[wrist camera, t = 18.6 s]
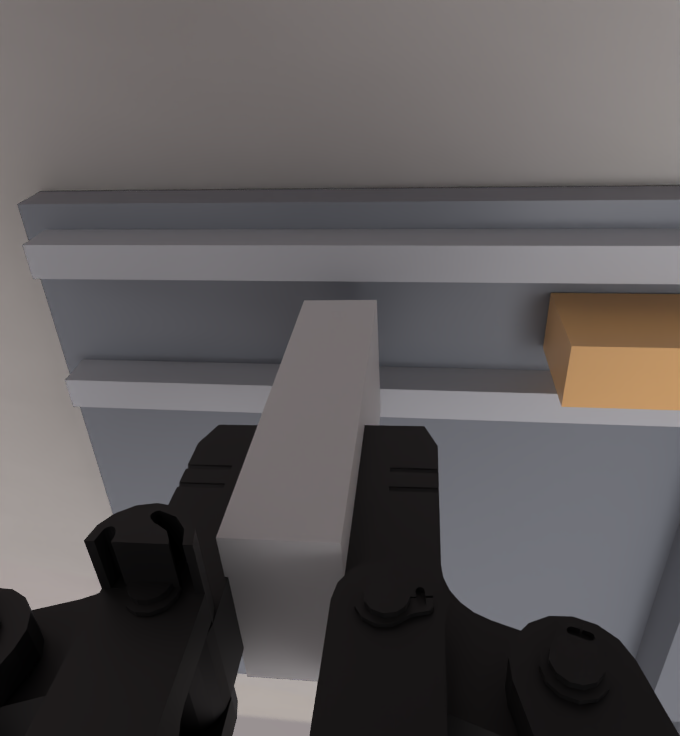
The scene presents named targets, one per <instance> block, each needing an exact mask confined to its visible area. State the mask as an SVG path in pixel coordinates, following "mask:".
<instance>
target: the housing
mask: <svg viewBox="0 0 680 736" xmlns="http://www.w3.org/2000/svg"><path fill="white" fill-rule="evenodd" d="M18 208H19V211H20V214H21V217H22V221H23V224H24V227H25V230H26V234H27V237H28V240H29V241H28V242H26V243H25V244H23V245H22V246H23V249H24V252H25V255H26V258H27V261H28V265H29V268H30V271H31V274H32V277H33V279H41V282H42V285H43V289H44V292H45V295H46V298H47V302H48V305H49V308H50V311H51V315H52V318H53V321H54V324H55V328H56V331H57V334H58V337H59V340H60V344H61V347H62V350H63V353H64V357H65V360H66V363H67V366H68V370H69V373H70V375H69V376H68V377H67V378H66V379H65V382H66V385H67V388H68V391H69V395H70V398H71V401H72V404H73V407H80V409H81V412H82V415H83V418H84V421H85V425H86V428H87V431H88V434H89V438H90V441H91V444H92V447H93V451H94V454H95V457H96V460H97V464H98V467H99V470H100V473H101V477H102V480H103V483H104V486H105V490H106V493H107V496H108V499H109V502H110V506H111V509H112V512H113V514H115V513H117V512H120V511H122V510H125V509H128V508H131V507H133V506H136V505H143V504H153V503H161V504H166V505H168V504H169V502H170V500H171V498H172V496H173V494H174V492H175V490H176V488H177V487H179V482H180V480H181V477H182V475H183V473H184V471H185V469H188V463H189V461H190V459H191V457H192V455H193V453H194V451H195V449H196V447H197V444H198V443H199V442H200V441H201V440H202V439H203V438H204V437H205V436H207V435H208V434H209V433H210V432H211V431H212V430H213V429H214V428H216V427H217V426H218V425H258V423H259V421H260V418H261V415H262V412H263V410H264V407H265V404H266V402H267V399H268V396H269V394H270V391H271V388H272V386H273V383H274V380H275V378H276V375H277V372H278V369H279V367H280V364H281V361H282V359H283V356H284V353H285V351H286V348H287V345H288V343H289V340H290V337H291V334H292V332H293V329H294V326H295V324H296V321H297V318H298V316H299V313H300V310H301V308H302V305H303V302H304V300H377V320H378V349H379V377H380V406H381V412H380V421H379V425H386V426H425V428H426V429H427V431H428V432H429V434H430V435H431V437H432V438H433V440H434V441H435V443H436V444H437V446H438V473H439V508H440V544H441V567H442V573H443V578H444V580H445V582H446V584H447V586H448V588H449V590H450V591H451V592H452V593H453V594H454V596H455V597H456V598H457V599H458V600H459V601H460V602H461V603H462V604H463V605H465V606H466V607H467V608H469V609H470V610H472V611H473V612H474V613H477V614H479V615H481V616H483V617H485V618H487V619H490V620H492V621H495V622H498V623H501V624H504V625H506V626H509V627H512V628H515V629H518V630H522V629H523V628H524V627H525V626H526V625H527V624H528V623H530V622H533V621H536V620H539V619H541V618H544V617H547V616H573V617H576V618H579V619H582V620H585V621H588V622H591V623H594V624H597V625H599V626H600V627H602V628H603V629H604V630H606V631H607V632H609V633H610V634H612V635H613V636H615V637H616V638H618V639H619V640H620V641H621V642H622V644H623V645H624V646H625V647H626V648H627V650H628V651H629V652H630V653H631V655H632V656H633V657H634V658H635V659H636V661H637V663H638V664H639V666H640V668H641V670H642V671H643V673H644V675H645V676H646V678H647V680H648V682H649V683H650V685H651V687H652V689H653V690H654V692H655V694H656V695H657V697H658V699H659V701H660V702H661V704H662V706H663V708H664V709H665V711H666V713H667V714H668V716H669V718H670V720H671V721H672V723H673V725H674V727H675V728H676V730H677V732H678V733H679V735H680V410H649V409H616V408H583V407H561V404H560V401H559V398H558V394H557V391H556V388H555V385H554V382H553V378H552V375H551V372H550V369H549V366H548V362H547V359H546V356H545V353H544V350H543V344H544V337H545V330H546V323H547V316H548V309H549V302H550V295H551V293H621V294H680V186H589V187H479V188H370V189H261V190H151V191H42V192H38V193H36V194H35V195H33V196H31V197H29V198H27V199H26V200H24V201H22V202H20V203H19V204H18ZM237 673H240V674H247V673H246V669H245V664H244V660H243V656H242V657H241V661H240V665H239V669H238V672H237Z"/></svg>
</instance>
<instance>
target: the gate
mask: <svg viewBox="0 0 680 736" xmlns="http://www.w3.org/2000/svg"><path fill="white" fill-rule="evenodd" d="M543 350H544V353H545V356H546V359H547V362H548V366H549V369H550V372H551V375H552V378H553V382H554V385H555V388H556V391H557V394H558V398H559V401H560V404H561V407H583V408H616V409H649V410H680V294H621V293H551V295H550V302H549V309H548V316H547V323H546V330H545V337H544V344H543Z"/></svg>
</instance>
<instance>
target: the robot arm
mask: <svg viewBox="0 0 680 736" xmlns="http://www.w3.org/2000/svg"><path fill="white" fill-rule="evenodd" d="M380 412H381V406H380V377H379V349H378V320H377V300H304V302H303V305H302V308H301V310H300V313H299V316H298V318H297V321H296V324H295V326H294V329H293V332H292V334H291V337H290V340H289V343H288V345H287V348H286V351H285V353H284V356H283V359H282V361H281V364H280V367H279V369H278V372H277V375H276V378H275V380H274V383H273V386H272V388H271V391H270V394H269V396H268V399H267V402H266V404H265V407H264V410H263V412H262V415H261V418H260V421H259V423H258V425H218V426H217V427H216V428H214V429H213V430H212V431H211V432H210V433H209V434H208V435H207V436H205V437H204V438H203V439H202V440H201V441H200V442H199V443H198V444H197V447H196V449H195V451H194V453H193V455H192V457H191V459H190V461H189V463H188V469H185V471H184V473H183V475H182V477H181V480H180V482H179V487H177V488H176V490H175V492H174V494H173V496H172V498H171V500H170V502H169V504H168V505H166V504H161V503H153V504H143V505H136V506H133V507H131V508H128V509H125V510H122V511H120V512H117V513H115V514H113V515H112V516H110V517H109V518H107V519H106V520H104V521H103V522H101V523H100V524H98V525H97V526H96V527H95V528H94V530H93V531H92V532H91V533H90V534H89V535H88V537H87V538H86V539H85V540H84V542H85V545H86V547H87V550H88V553H89V555H90V558H91V561H92V563H93V566H94V569H95V571H96V574H97V577H98V579H99V582H100V585H101V587H102V589H101V591H100V593H98V594H96V595H93V596H90V597H86V598H83V599H80V600H76V601H71V602H67V603H62V604H58V605H53V606H49V607H44V608H40V609H36V610H31V608H30V606H29V604H28V602H27V600H26V598H25V597H24V596H22V595H21V594H19V593H18V592H16V591H14V590H13V589H3V588H0V736H232V735H233V731H234V727H235V723H236V719H237V703H238V700H237V696H236V692H235V688H234V683H235V680H236V676H237V672H238V669H239V665H240V661H241V657H242V656H243V660H244V664H245V669H246V673H247V677H262V678H276V679H290V680H305V681H318V684H317V691H316V697H315V704H314V710H313V717H312V723H311V730H310V736H680V735H679V733H678V732H677V730H676V728H675V727H674V725H673V723H672V721H671V720H670V718H669V716H668V714H667V713H666V711H665V709H664V708H663V706H662V704H661V702H660V701H659V699H658V697H657V695H656V694H655V692H654V690H653V689H652V687H651V685H650V683H649V682H648V680H647V678H646V676H645V675H644V673H643V671H642V670H641V668H640V666H639V664H638V663H637V661H636V659H635V658H634V657H633V656H632V655H631V653H630V652H629V651H628V650H627V648H626V647H625V646H624V645H623V644H622V642H621V641H620V640H619V639H618V638H616V637H615V636H613V635H612V634H610V633H609V632H607V631H606V630H604V629H603V628H602V627H600V626H599V625H597V624H594V623H591V622H588V621H585V620H582V619H579V618H576V617H573V616H547V617H544V618H541V619H539V620H536V621H533V622H530V623H528V624H527V625H526V626H525V627H524V628H523V629H522V630H518V629H515V628H512V627H509V626H506V625H504V624H501V623H498V622H495V621H492V620H490V619H487V618H485V617H483V616H481V615H479V614H477V613H474V612H473V611H472V610H470V609H469V608H467V607H466V606H465V605H463V604H462V603H461V602H460V601H459V600H458V599H457V598H456V597H455V596H454V594H453V593H452V592H451V591H450V590H449V588H448V586H447V584H446V582H445V580H444V578H443V573H442V567H441V544H440V508H439V473H438V446H437V444H436V443H435V441H434V440H433V438H432V437H431V435H430V434H429V432H428V431H427V429H426V428H425V426H386V425H379V421H380Z"/></svg>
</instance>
